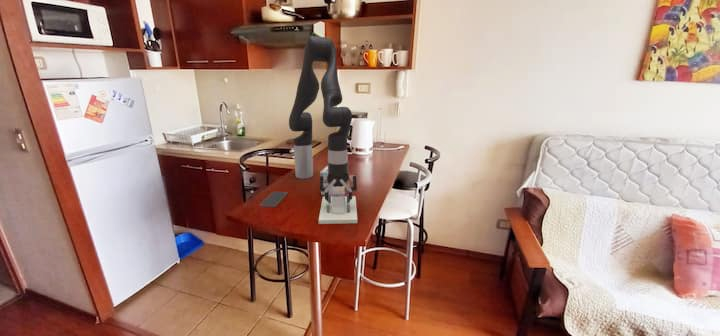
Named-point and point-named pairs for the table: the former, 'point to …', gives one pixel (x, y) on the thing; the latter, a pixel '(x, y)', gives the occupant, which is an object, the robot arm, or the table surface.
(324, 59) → the robot arm
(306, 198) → the table surface
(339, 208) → the plate
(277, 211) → the table surface
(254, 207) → the table surface
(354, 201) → the peg board
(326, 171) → the light bulb box
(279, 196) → the smartphone
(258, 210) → the table surface
